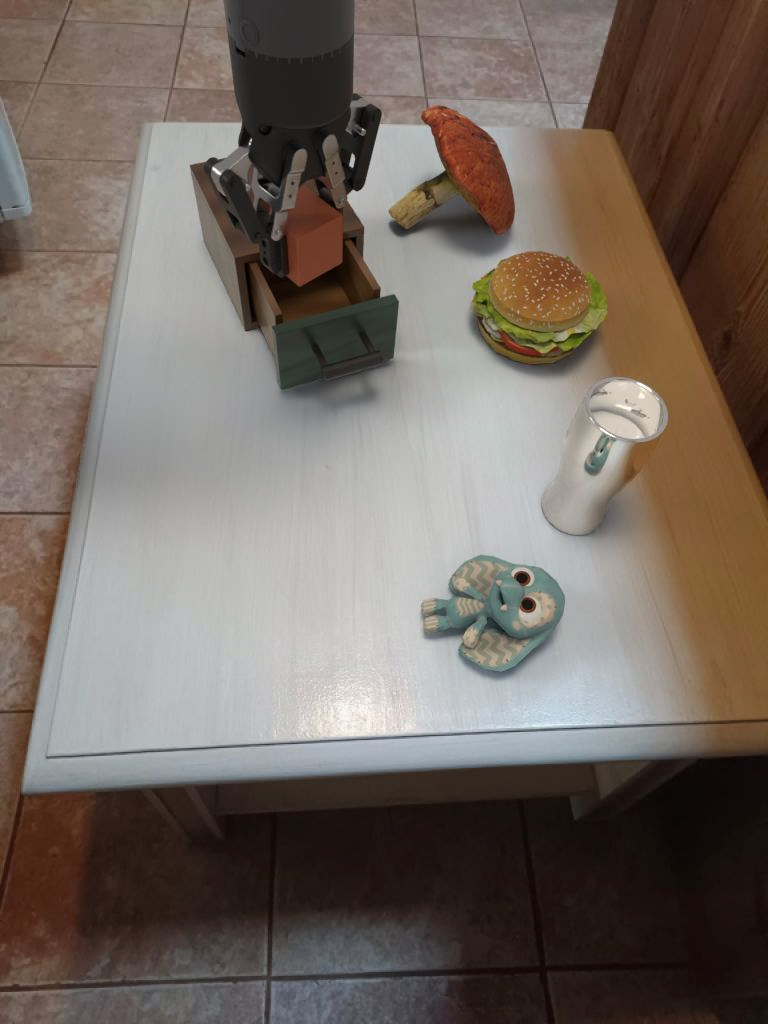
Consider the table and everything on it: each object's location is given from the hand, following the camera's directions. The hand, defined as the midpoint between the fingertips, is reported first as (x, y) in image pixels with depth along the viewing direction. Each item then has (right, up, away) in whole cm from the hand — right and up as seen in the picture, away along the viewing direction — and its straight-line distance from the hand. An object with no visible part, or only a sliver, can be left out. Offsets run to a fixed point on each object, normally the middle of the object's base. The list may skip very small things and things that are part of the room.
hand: (302, 256), depth 57 cm
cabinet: (-6, +8, +27) cm, 29 cm away
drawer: (0, -2, +21) cm, 21 cm away
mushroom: (+14, +20, +29) cm, 38 cm away
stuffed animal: (+15, -30, +6) cm, 34 cm away
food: (+23, 0, +25) cm, 34 cm away
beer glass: (+25, -20, +12) cm, 34 cm away
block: (0, 0, 0) cm, 0 cm away
